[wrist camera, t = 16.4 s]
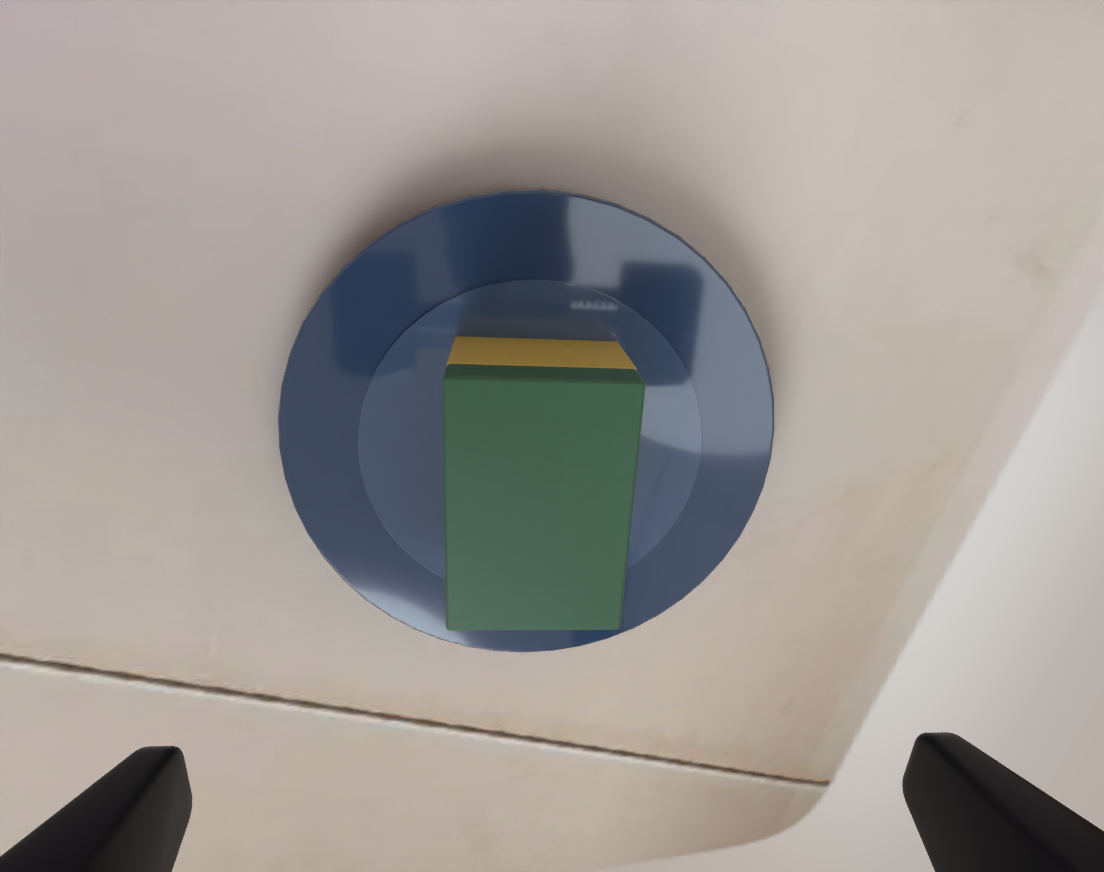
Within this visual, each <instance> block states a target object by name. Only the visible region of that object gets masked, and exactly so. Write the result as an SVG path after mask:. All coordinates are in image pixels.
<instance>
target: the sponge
mask: <svg viewBox="0 0 1104 872" xmlns="http://www.w3.org/2000/svg"><path fill="white" fill-rule="evenodd" d="M645 386H646V384H645V381H644V380H643V378H642V377H641V376H640V374H639V373H638V371H637V369H636V367H635V366H634V364H633V363H632V361H631V360H630V359H629V357H628V356H627V354H626V353H625V351H624V350H623V349H622V347H621V346H620V344H619V343H618V342H617V341H589V340H557V339H526V338H495V337H463V336H456V337H455V339H454V343H453V346H452V349H451V352H450V355H449V358H448V361H447V367H446V370H445V373H444V376H443V448H444V519H445V591H446V627H447V630H450V631H481V630H618V629H619V628H620V626H621V616H622V607H623V597H624V587H625V578H626V568H627V559H628V549H629V540H630V530H631V520H632V511H633V501H634V492H635V482H636V472H637V463H638V453H639V444H640V434H641V424H642V415H643V405H644V396H645Z"/></svg>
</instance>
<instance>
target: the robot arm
mask: <svg viewBox="0 0 1104 872" xmlns="http://www.w3.org/2000/svg"><path fill="white" fill-rule="evenodd" d="M903 794H904V797H905V801H906V803H907V806H908V808H909V811H910V813H911V815H912V817H913V820H914V822H915V825H916V827H917V830H918V832H919V834H920V837H921V839H922V841H923V844H924V846H925V849H926V851H927V853H928V855H929V858H930V860H931V863H932V865H933V867H934V870H935V872H1104V831H1102V830H1101V829H1099V828H1098V827H1096V826H1095V825H1093V824H1092V823H1090V822H1089V821H1087V820H1086V819H1084V818H1082V817H1081V816H1079V815H1078V814H1076V813H1075V812H1073V811H1072V810H1070V809H1069V808H1067V807H1066V806H1064V805H1063V804H1061V803H1060V802H1058V801H1057V800H1055V799H1054V798H1052V797H1051V796H1049V795H1048V794H1046V793H1045V792H1043V791H1041V790H1040V789H1039V788H1037V787H1035V786H1034V785H1032V784H1031V783H1030V782H1028V781H1026V780H1025V779H1023V778H1022V777H1020V776H1019V775H1017V774H1016V773H1014V772H1013V771H1011V770H1010V769H1008V768H1007V767H1005V766H1004V765H1002V764H1001V763H999V762H998V761H996V760H995V759H993V758H992V757H990V756H989V755H987V754H986V753H984V752H982V751H981V750H980V749H978V748H976V747H975V746H973V745H972V744H970V743H969V742H967V741H966V740H964V739H963V738H961V737H960V736H958V735H956V734H953V733H923V734H921V735H919V736H918V737H917V738H916V741H915V743H914V746H913V749H912V753H911V756H910V758H909V761H908V764H907V767H906V770H905V773H904V776H903ZM191 809H192V793H191V788H190V784H189V779H188V774H187V769H186V765H185V760H184V756H183V753H182V751H181V750H180V749H179V748H178V747H175V746H151V747H143V748H141V749H139V750H137V751H135V752H134V753H132V754H131V755H130V756H128V757H127V758H126V759H125V760H123V761H122V762H121V763H119V764H118V765H117V766H116V767H114V768H113V769H112V770H110V771H109V772H108V773H107V774H105V775H104V776H103V777H102V778H100V779H99V780H98V781H96V782H95V783H94V784H93V785H91V786H90V787H89V788H87V789H86V790H85V791H84V792H82V793H81V794H80V795H78V796H77V797H76V798H75V799H73V800H72V801H71V802H70V803H68V804H67V805H66V806H64V807H63V808H62V809H61V810H59V811H58V812H57V813H55V814H54V815H53V816H52V817H50V818H49V819H48V820H46V821H45V822H44V823H43V824H41V825H40V826H39V827H38V828H36V829H35V830H34V831H32V832H31V833H30V834H29V835H27V836H26V837H25V838H23V839H22V840H21V841H20V842H18V843H17V844H16V845H14V846H13V847H12V848H11V849H9V850H8V851H7V852H6V853H4V854H3V855H2V856H0V872H172V869H173V866H174V863H175V860H176V857H177V854H178V851H179V848H180V845H181V842H182V839H183V837H184V834H185V831H186V828H187V825H188V822H189V818H190V814H191Z"/></svg>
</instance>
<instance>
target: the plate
mask: <svg viewBox="0 0 1104 872" xmlns="http://www.w3.org/2000/svg"><path fill="white" fill-rule="evenodd" d="M456 336H463V337H495V338H526V339H557V340H589V341H617V342H618V343H619V344H620V346H621V347H622V349H623V350H624V351H625V353H626V354H627V356H628V357H629V359H630V360H631V361H632V363H633V364H634V366H635V367H636V369H637V371H638V373H639V374H640V376H641V377H642V378H643V380H644V381H645V384H646V386H645V396H644V405H643V415H642V424H641V434H640V444H639V453H638V463H637V472H636V482H635V492H634V501H633V511H632V520H631V530H630V540H629V549H628V559H627V568H626V578H625V587H624V597H623V607H622V616H621V626H620V628H619V629H618V630H481V631H450V630H447V627H446V591H445V519H444V448H443V376H444V373H445V370H446V367H447V361H448V358H449V355H450V352H451V349H452V346H453V343H454V339H455V337H456ZM278 427H279V449H280V454H281V459H282V465H283V470H284V476H285V480H286V483H287V486H288V489H289V492H290V495H291V498H292V501H293V503H294V506H295V509H296V511H297V513H298V515H299V517H300V519H301V521H302V523H303V525H304V527H305V529H306V531H307V533H308V535H309V536H310V538H311V539H312V541H313V542H314V543H315V545H316V546H317V548H318V549H319V551H320V552H321V554H322V555H323V557H324V558H325V559H326V561H327V562H328V563H329V564H330V565H331V566H332V567H333V568H334V570H335V571H336V572H337V573H338V574H339V575H340V576H341V578H342V579H343V580H344V581H345V582H346V583H348V584H349V585H350V586H351V587H352V588H353V589H354V590H356V591H357V592H358V593H359V594H360V595H361V596H362V597H363V598H365V599H366V600H367V601H369V602H370V603H372V604H373V605H375V606H376V607H377V608H379V609H380V610H382V611H383V612H385V613H386V614H388V615H389V616H391V617H393V618H395V619H397V620H399V621H400V622H402V623H404V624H406V625H408V626H410V627H412V628H414V629H416V630H419V631H421V632H424V633H426V634H429V635H431V636H434V637H436V638H439V639H442V640H446V641H449V642H453V643H457V644H460V645H464V646H468V647H474V648H481V649H487V650H493V651H508V652H537V651H553V650H559V649H565V648H571V647H577V646H582V645H586V644H589V643H593V642H597V641H600V640H604V639H607V638H610V637H613V636H615V635H618V634H620V633H623V632H625V631H628V630H630V629H633V628H635V627H637V626H639V625H641V624H642V623H644V622H646V621H648V620H650V619H652V618H654V617H656V616H658V615H659V614H661V613H662V612H664V611H665V610H667V609H668V608H670V607H671V606H673V605H674V604H676V603H677V602H678V601H680V600H681V599H683V598H684V597H685V596H686V595H687V594H689V593H690V592H691V591H692V590H693V589H694V588H696V587H697V586H698V585H699V584H700V583H701V582H703V581H704V580H705V579H706V577H707V576H708V575H709V574H710V573H711V572H712V571H713V570H714V569H715V568H716V567H717V566H718V564H719V563H720V562H721V561H722V560H723V559H724V557H725V556H726V555H727V553H728V552H729V551H730V549H731V548H732V546H733V545H734V544H735V542H736V541H737V540H738V538H739V537H740V535H741V533H742V531H743V529H744V528H745V526H746V524H747V522H748V520H749V519H750V517H751V515H752V513H753V511H754V509H755V506H756V504H757V501H758V499H759V496H760V494H761V491H762V489H763V486H764V482H765V478H766V475H767V471H768V467H769V463H770V459H771V452H772V443H773V435H774V397H773V391H772V384H771V378H770V372H769V367H768V364H767V360H766V357H765V354H764V351H763V348H762V345H761V341H760V338H759V336H758V334H757V332H756V330H755V328H754V326H753V324H752V321H751V319H750V317H749V315H748V313H747V311H746V309H745V308H744V306H743V305H742V303H741V302H740V300H739V299H738V297H737V296H736V294H735V293H734V291H733V290H732V288H731V287H730V285H729V284H728V282H727V281H726V280H725V279H724V278H723V277H722V276H721V275H720V274H719V272H718V271H717V270H716V269H715V268H714V267H713V266H712V265H711V264H710V263H709V261H708V260H707V259H706V258H705V257H704V256H702V255H701V254H700V253H699V252H698V251H696V250H695V249H694V248H693V247H692V246H690V245H689V244H688V243H687V242H685V241H684V240H683V239H682V238H681V237H679V236H678V235H676V234H675V233H673V232H671V231H670V230H668V229H666V228H665V227H663V226H662V225H660V224H658V223H657V222H655V221H653V220H652V219H650V218H648V217H646V216H644V215H641V214H639V213H637V212H634V211H632V210H630V209H627V208H625V207H623V206H620V205H618V204H615V203H612V202H608V201H604V200H601V199H597V198H593V197H589V196H586V195H582V194H577V193H569V192H561V191H552V190H544V189H521V190H501V191H495V192H489V193H483V194H477V195H471V196H467V197H464V198H461V199H458V200H455V201H451V202H448V203H445V204H442V205H438V206H435V207H433V208H431V209H429V210H426V211H424V212H422V213H420V214H418V215H416V216H414V217H412V218H410V219H407V220H405V221H403V222H401V223H399V224H398V225H396V226H395V227H393V228H392V229H390V230H389V231H387V232H386V233H384V234H383V235H381V236H380V237H378V238H377V239H375V240H374V241H372V242H370V243H369V244H368V245H367V246H366V247H365V248H364V249H362V250H361V251H360V252H359V253H358V254H357V255H356V256H355V257H353V258H352V259H351V260H350V261H349V262H348V263H347V264H346V265H344V266H343V267H342V269H341V270H340V271H339V272H338V273H337V275H336V276H335V277H334V278H333V279H332V281H331V282H330V283H329V284H328V285H327V287H326V288H325V289H324V290H323V291H322V293H321V294H320V295H319V297H318V299H317V300H316V302H315V303H314V305H313V307H312V308H311V310H310V312H309V313H308V315H307V317H306V318H305V320H304V321H303V323H302V326H301V328H300V330H299V333H298V335H297V337H296V340H295V342H294V344H293V347H292V349H291V351H290V354H289V358H288V362H287V366H286V369H285V373H284V377H283V381H282V385H281V394H280V403H279V413H278Z"/></svg>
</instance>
